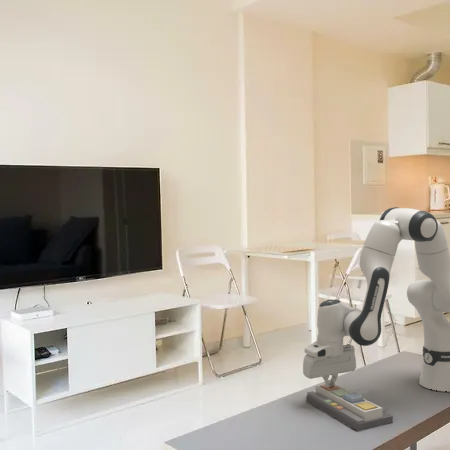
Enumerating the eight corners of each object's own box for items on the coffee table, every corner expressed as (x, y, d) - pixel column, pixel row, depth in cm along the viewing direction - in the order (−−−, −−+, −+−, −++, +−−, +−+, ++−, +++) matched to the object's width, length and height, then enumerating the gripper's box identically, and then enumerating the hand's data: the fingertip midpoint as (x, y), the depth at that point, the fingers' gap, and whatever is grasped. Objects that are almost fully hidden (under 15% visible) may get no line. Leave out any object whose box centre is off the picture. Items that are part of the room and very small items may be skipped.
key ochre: (366, 409, 173) (366, 401, 172) (376, 414, 169) (376, 406, 169) (355, 412, 171) (355, 404, 171) (365, 417, 167) (365, 409, 167)
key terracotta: (331, 390, 189) (331, 383, 189) (339, 394, 185) (339, 387, 185) (321, 392, 188) (321, 385, 187) (328, 397, 184) (328, 389, 183)
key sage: (342, 396, 184) (342, 389, 184) (350, 401, 180) (350, 393, 180) (332, 399, 182) (332, 391, 182) (340, 403, 178) (340, 396, 178)
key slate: (354, 399, 178) (354, 392, 178) (363, 404, 174) (363, 396, 174) (343, 401, 176) (343, 394, 176) (352, 406, 172) (352, 398, 172)
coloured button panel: (339, 394, 193) (339, 380, 193) (392, 422, 169) (392, 406, 169) (306, 400, 187) (306, 386, 187) (357, 431, 163) (357, 415, 163)
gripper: (348, 341, 193) (348, 379, 194) (300, 348, 184) (300, 388, 185) (360, 345, 187) (360, 384, 188) (311, 353, 178) (311, 394, 179)
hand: (330, 386), depth 186 cm, fingers closed, pressing on key terracotta
